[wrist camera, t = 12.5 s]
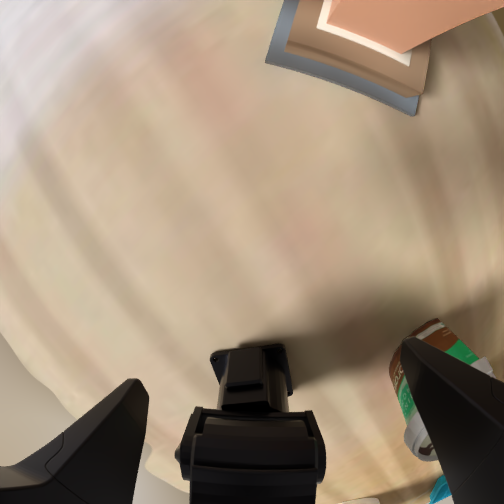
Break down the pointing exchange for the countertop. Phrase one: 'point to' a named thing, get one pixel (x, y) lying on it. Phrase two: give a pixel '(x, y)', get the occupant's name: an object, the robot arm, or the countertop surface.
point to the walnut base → (347, 56)
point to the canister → (362, 501)
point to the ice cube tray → (440, 490)
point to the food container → (415, 430)
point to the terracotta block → (405, 18)
